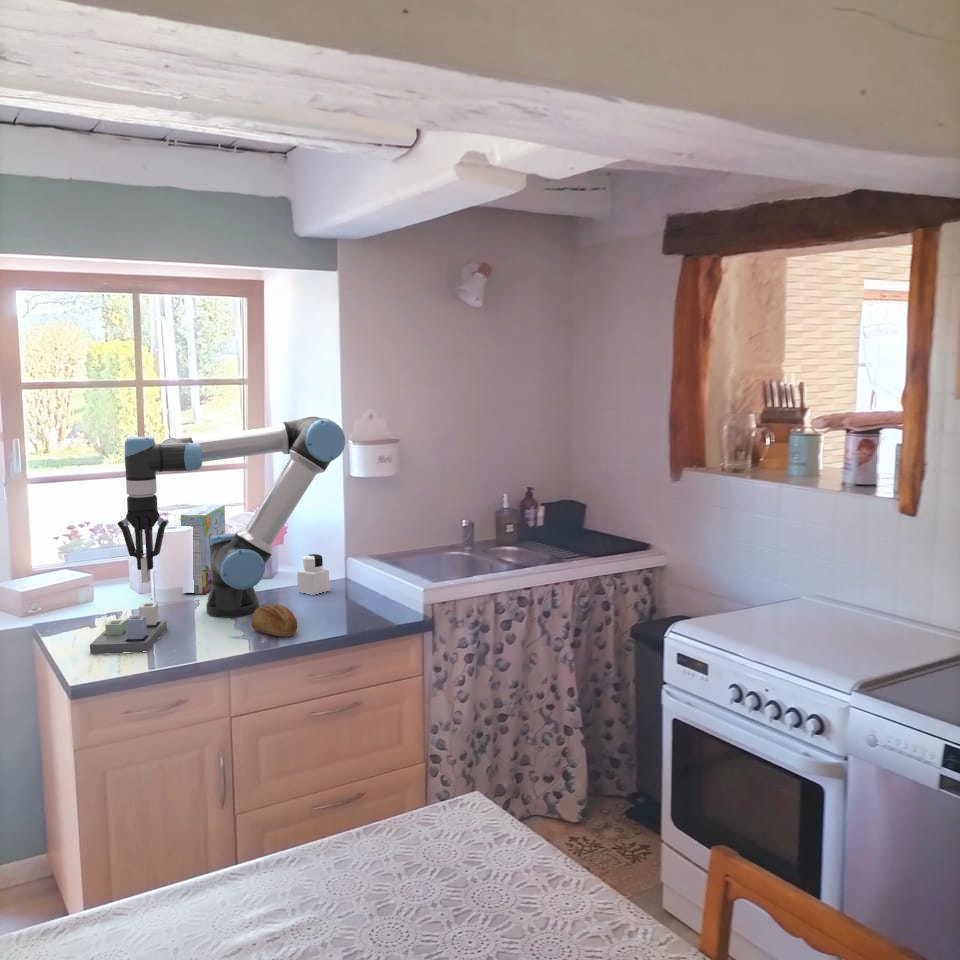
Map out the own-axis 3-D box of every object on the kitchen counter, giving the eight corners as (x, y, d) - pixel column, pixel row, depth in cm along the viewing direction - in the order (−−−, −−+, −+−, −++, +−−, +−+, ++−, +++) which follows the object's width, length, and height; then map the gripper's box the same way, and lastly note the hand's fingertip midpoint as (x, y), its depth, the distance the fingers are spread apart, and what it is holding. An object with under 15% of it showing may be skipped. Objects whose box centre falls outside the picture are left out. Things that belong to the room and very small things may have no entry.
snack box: (208, 594, 286) (205, 514, 282) (181, 594, 286) (177, 514, 282) (228, 578, 307) (225, 503, 304) (203, 578, 308) (199, 503, 304)
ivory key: (158, 620, 248) (157, 602, 247) (154, 625, 244) (154, 606, 243) (143, 621, 247) (142, 602, 247) (139, 625, 243) (138, 606, 243)
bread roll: (279, 643, 238) (278, 613, 237) (241, 633, 246) (240, 605, 245) (306, 634, 246) (305, 605, 245) (268, 624, 254) (267, 597, 253)
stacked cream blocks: (314, 588, 294) (313, 551, 292) (329, 591, 290) (328, 554, 288) (297, 592, 288) (296, 555, 287) (313, 596, 284) (312, 558, 282)
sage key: (126, 638, 242) (125, 619, 241) (122, 642, 238) (121, 623, 237) (111, 638, 241) (110, 619, 240) (106, 643, 237) (105, 624, 237)
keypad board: (166, 628, 250) (166, 620, 250) (147, 652, 231) (146, 642, 230) (114, 630, 249) (114, 621, 249) (90, 654, 229) (89, 644, 229)
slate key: (146, 634, 236) (145, 614, 235) (142, 638, 232) (141, 619, 231) (131, 634, 236) (130, 615, 235) (126, 639, 232) (125, 619, 231)
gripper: (170, 492, 245) (174, 577, 248) (120, 493, 244) (125, 578, 247) (163, 496, 238) (167, 584, 241) (112, 497, 236) (116, 585, 240)
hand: (146, 581), depth 244 cm, fingers closed
